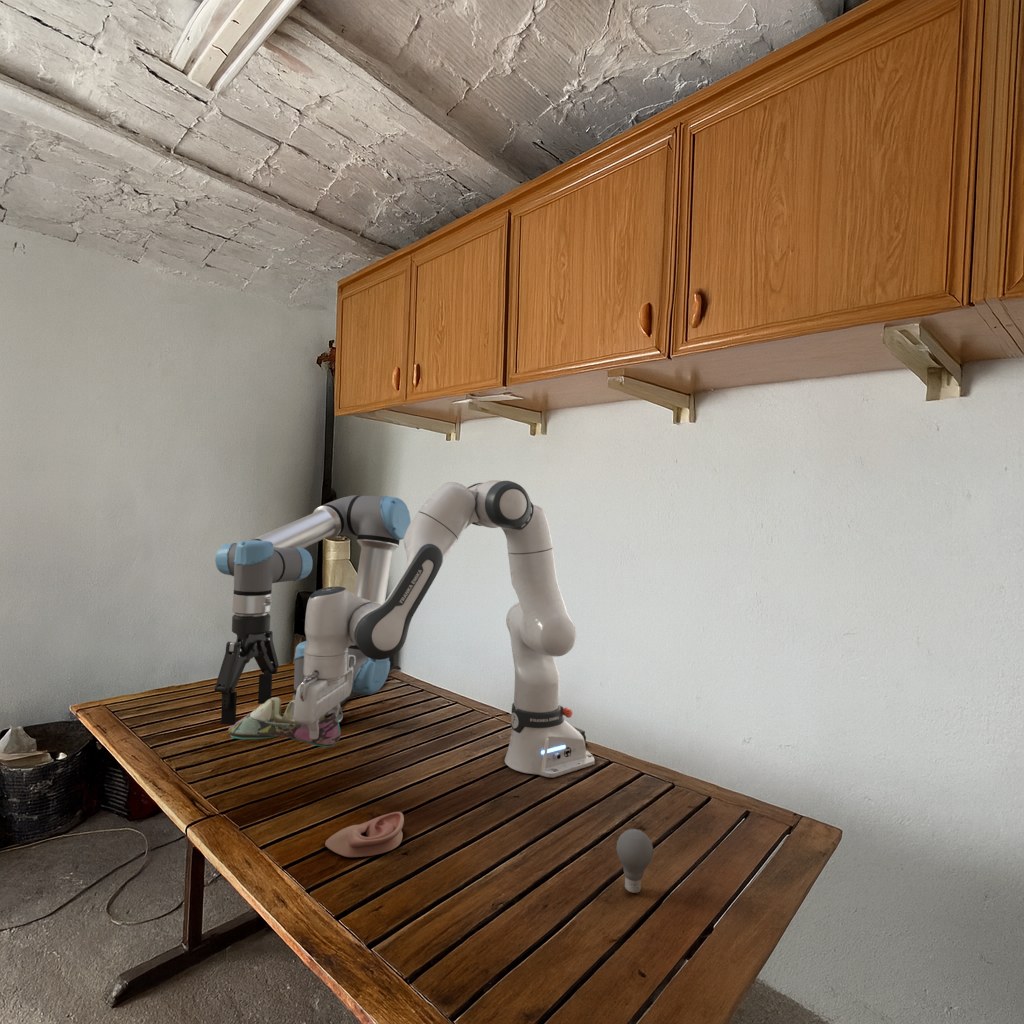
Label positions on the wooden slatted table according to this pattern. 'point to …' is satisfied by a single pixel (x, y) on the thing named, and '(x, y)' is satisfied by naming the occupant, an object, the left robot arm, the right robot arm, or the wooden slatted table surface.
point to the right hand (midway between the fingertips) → (323, 731)
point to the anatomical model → (368, 837)
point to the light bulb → (634, 857)
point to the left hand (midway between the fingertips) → (247, 713)
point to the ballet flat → (284, 725)
